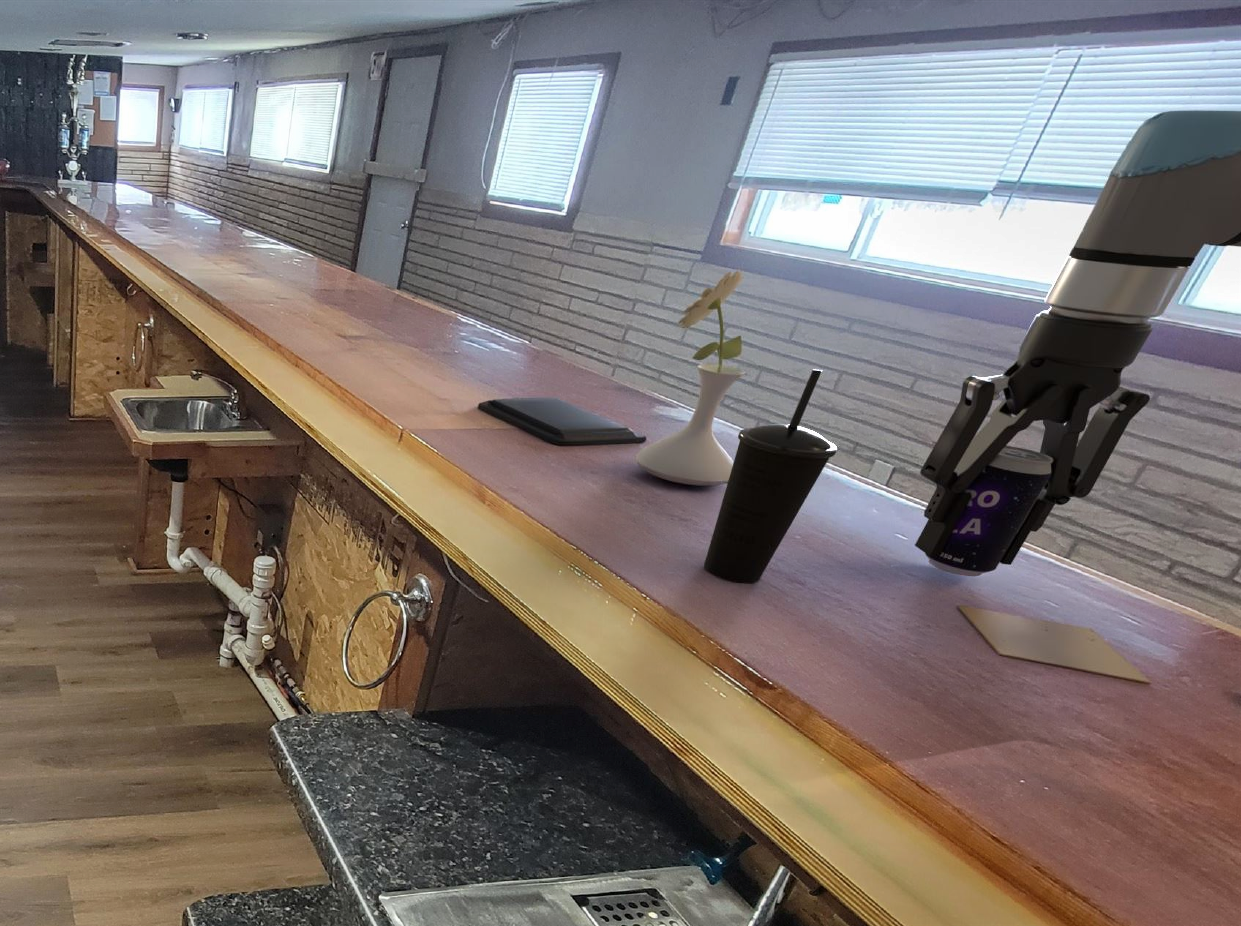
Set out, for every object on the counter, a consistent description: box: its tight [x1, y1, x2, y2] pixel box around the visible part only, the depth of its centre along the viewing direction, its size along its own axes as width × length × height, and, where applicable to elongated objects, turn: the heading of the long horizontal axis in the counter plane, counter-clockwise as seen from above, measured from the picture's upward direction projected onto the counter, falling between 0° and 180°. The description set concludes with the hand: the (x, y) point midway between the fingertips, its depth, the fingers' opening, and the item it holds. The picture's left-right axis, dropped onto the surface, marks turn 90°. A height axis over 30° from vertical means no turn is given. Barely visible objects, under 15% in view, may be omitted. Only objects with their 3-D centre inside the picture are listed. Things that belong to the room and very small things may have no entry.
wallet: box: [477, 397, 648, 446], centre depth 133 cm, size 20×2×15 cm
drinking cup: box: [703, 368, 838, 584], centre depth 83 cm, size 8×8×20 cm
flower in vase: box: [634, 269, 746, 487], centre depth 107 cm, size 13×11×25 cm
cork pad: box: [956, 604, 1152, 684], centre depth 78 cm, size 10×10×1 cm
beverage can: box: [924, 445, 1053, 577], centre depth 87 cm, size 6×6×12 cm
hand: (962, 554), depth 89 cm, fingers closed on beverage can, 6 cm apart
